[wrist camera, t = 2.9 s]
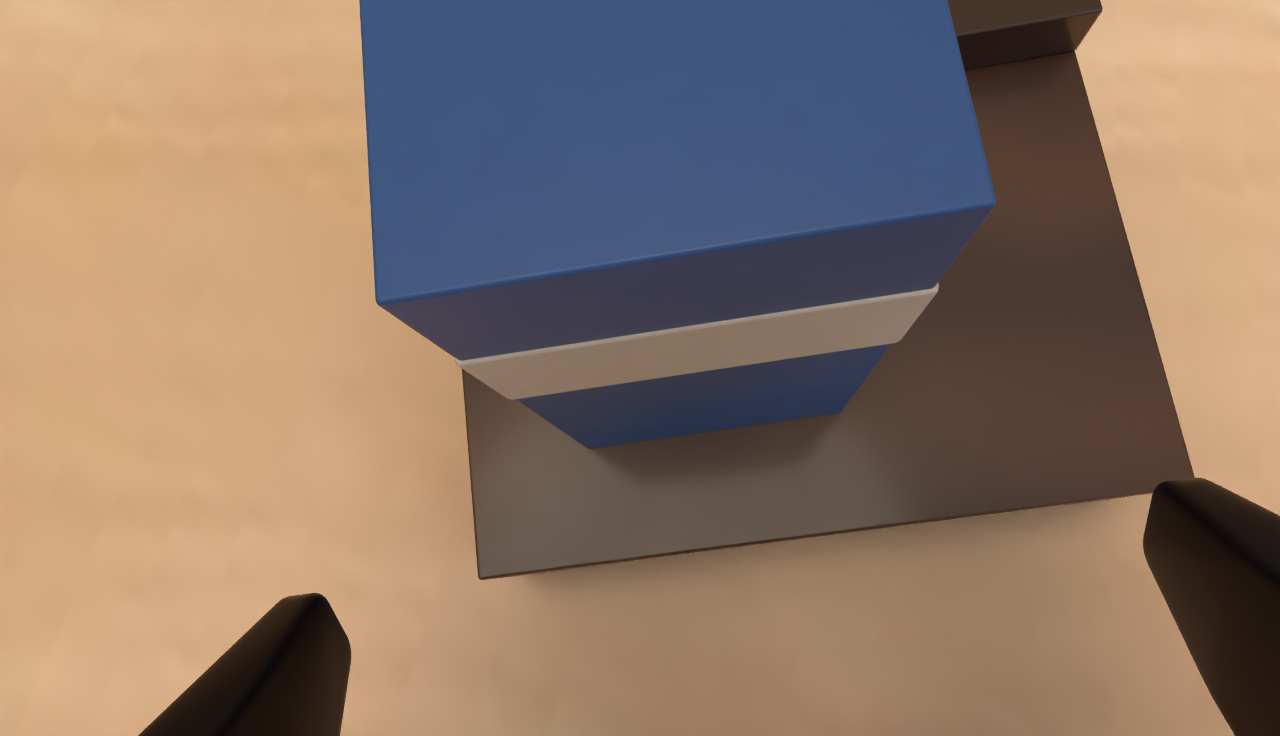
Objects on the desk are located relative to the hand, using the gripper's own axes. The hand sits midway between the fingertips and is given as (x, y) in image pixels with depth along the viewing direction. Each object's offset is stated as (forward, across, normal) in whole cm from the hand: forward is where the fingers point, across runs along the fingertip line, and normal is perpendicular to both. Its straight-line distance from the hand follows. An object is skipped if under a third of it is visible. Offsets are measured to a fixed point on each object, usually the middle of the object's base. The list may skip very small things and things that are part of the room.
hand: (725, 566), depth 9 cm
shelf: (+13, -2, +5) cm, 14 cm away
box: (+10, 0, +2) cm, 10 cm away
